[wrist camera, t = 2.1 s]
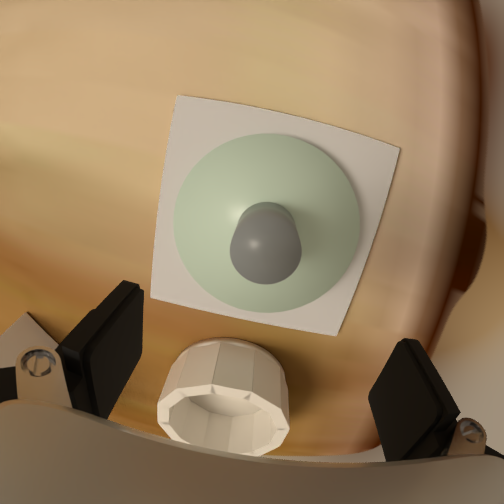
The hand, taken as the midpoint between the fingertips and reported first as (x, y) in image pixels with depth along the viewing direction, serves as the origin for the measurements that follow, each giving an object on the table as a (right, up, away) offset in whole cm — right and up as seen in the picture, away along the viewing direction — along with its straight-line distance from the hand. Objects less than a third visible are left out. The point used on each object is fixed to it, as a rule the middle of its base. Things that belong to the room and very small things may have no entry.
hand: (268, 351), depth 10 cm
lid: (0, +5, +12) cm, 13 cm away
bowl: (-3, -9, +18) cm, 20 cm away
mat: (0, +5, +12) cm, 13 cm away
